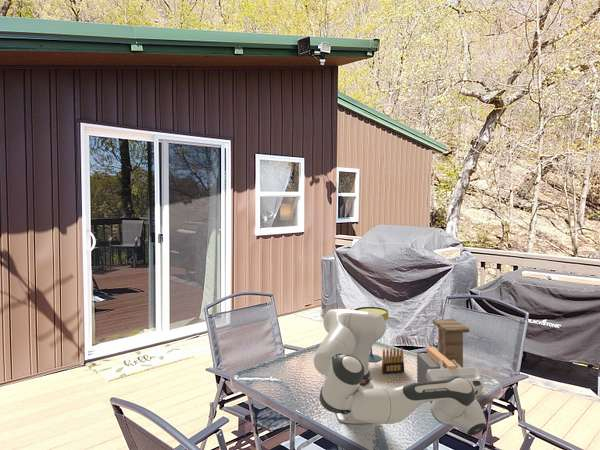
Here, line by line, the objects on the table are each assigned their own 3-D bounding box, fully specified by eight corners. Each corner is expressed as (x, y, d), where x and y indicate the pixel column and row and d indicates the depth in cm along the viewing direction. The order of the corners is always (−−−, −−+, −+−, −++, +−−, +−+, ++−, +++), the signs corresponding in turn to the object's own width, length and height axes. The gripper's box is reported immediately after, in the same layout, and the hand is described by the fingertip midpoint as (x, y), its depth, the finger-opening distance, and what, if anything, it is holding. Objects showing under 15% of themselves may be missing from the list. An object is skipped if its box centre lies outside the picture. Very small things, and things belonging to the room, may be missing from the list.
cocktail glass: (348, 354, 243) (347, 308, 242) (378, 350, 249) (378, 305, 247) (362, 366, 226) (362, 316, 225) (395, 361, 232) (394, 313, 230)
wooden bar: (456, 373, 175) (456, 365, 175) (448, 374, 175) (448, 366, 175) (433, 354, 199) (433, 347, 199) (426, 354, 199) (426, 347, 198)
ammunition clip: (402, 371, 220) (402, 346, 219) (404, 372, 218) (404, 347, 217) (381, 372, 218) (381, 348, 217) (382, 374, 216) (382, 349, 215)
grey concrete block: (454, 401, 186) (454, 365, 185) (431, 403, 185) (430, 367, 184) (439, 385, 202) (439, 352, 201) (417, 387, 201) (417, 353, 200)
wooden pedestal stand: (471, 387, 199) (471, 328, 198) (444, 388, 198) (444, 330, 197) (455, 373, 215) (455, 318, 213) (431, 374, 214) (430, 320, 212)
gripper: (431, 397, 170) (419, 367, 181) (484, 394, 171) (469, 364, 183) (434, 386, 166) (422, 356, 178) (488, 383, 168) (473, 354, 179)
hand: (446, 360), depth 180 cm, fingers closed on wooden bar, 3 cm apart
